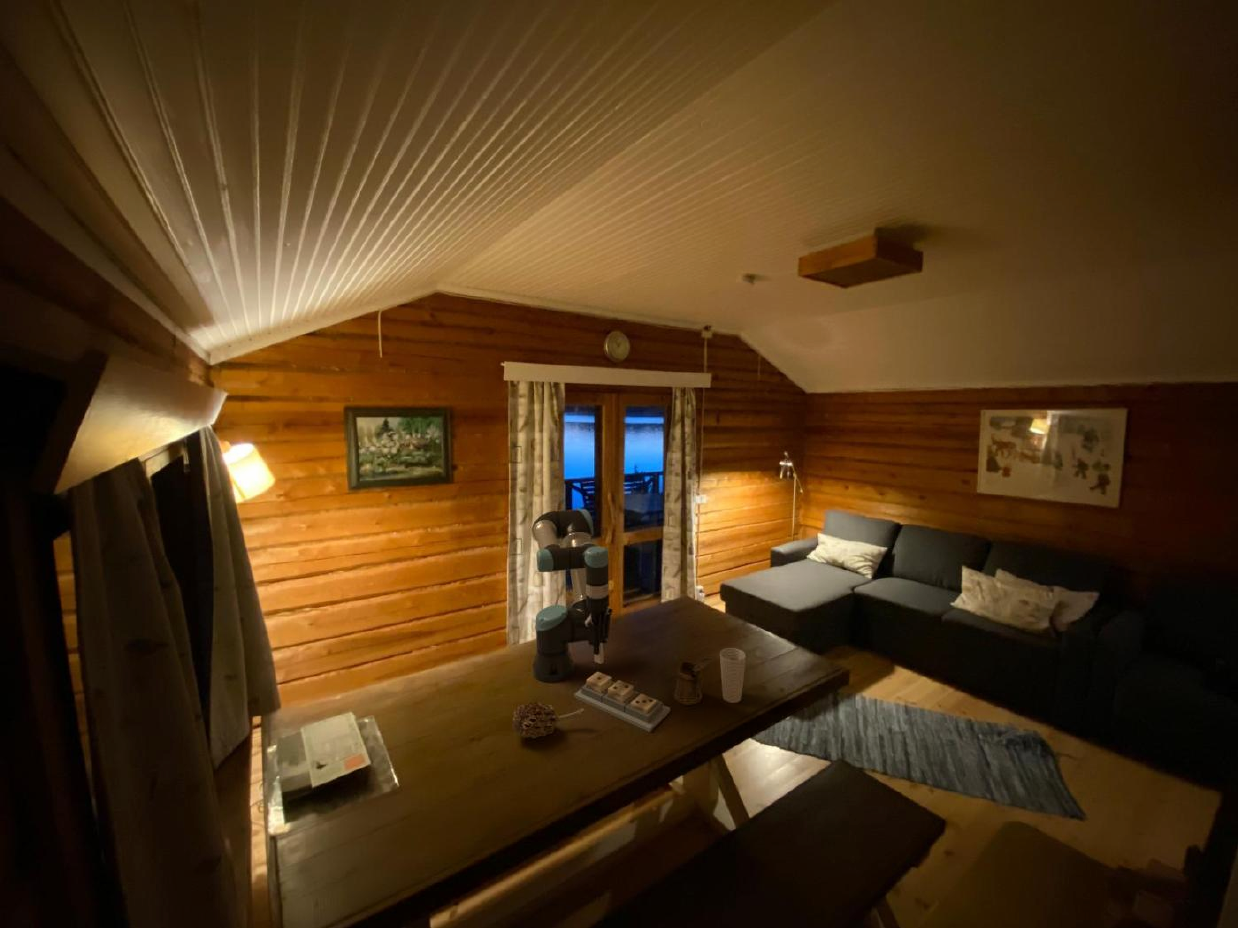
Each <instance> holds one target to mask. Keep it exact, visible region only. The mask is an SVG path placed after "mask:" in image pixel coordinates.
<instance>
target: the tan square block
mask: <svg viewBox="0 0 1238 928" xmlns="http://www.w3.org/2000/svg"><path fill="white" fill-rule="evenodd" d="M612 682H613V679H612V676H610V675H607V674H605V673H602V672H600V671H596V672H595V673H594V674H593V675H591V676H589V677H588V678H587V679H586V683H585V684H587V688H589V689H591V690H593V691H596V692H598V693H600V694H601V693H603V692H604V691H605V690H606V689H608V688H609V687H610V686H611V685H612Z"/></svg>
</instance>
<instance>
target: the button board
mask: <svg viewBox="0 0 1238 928" xmlns="http://www.w3.org/2000/svg"><path fill="white" fill-rule="evenodd" d="M615 683H616V682H615V681H612V685H613V684H615ZM612 685H611V686H612ZM611 686H610V687H611ZM610 687H609V688H610ZM640 694H642V693H640V692H638V691H636V690H634V695H633V696H631V697H630V698H629V699H628V700H627V701H626V702H624V703H621V702H619V701H616V700H614V699H612V698H609V697H608V689H606V690H605V691H604V692H603V693H601V694H600V693H598V692H596V691H593V690H591V689H589V688H587V683H585V684H584V685H583V686H581V687H580V689H579V690H578V691H576V692H575V693H573V698H575V699H576V700H579V701H580V702H583V703H585V704H587V705H589V706H592V707H594V708H596V709H598V710H600V711H602V712H605V713H606V714H608V715H611V716H613V717H616V718H618V719H620V720H622V721H624V722H626V723H629V724H631V725H633V726H634V727H637V728H640V729H642V730H643V731H646V732H649V733H651V732H652V731H653V730H654V729H655V728H656V727H657V726H658V725H659V723H661V721H663V720H664V719H665V717H667V716H668V714H669V713H671V707H668V706H666V705H664V703H663V702H662V701H660V700H658V699H656V700H657V705H656V706H655V707H654V708H653V709H652V710H651V711H650V712H649V713H648V714H646V713H644V712H642V711H639V710H637V709H635V708H632V707H631V702H632V701H634V700H635V699H636V698H637V697H638V696H639V695H640Z"/></svg>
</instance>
